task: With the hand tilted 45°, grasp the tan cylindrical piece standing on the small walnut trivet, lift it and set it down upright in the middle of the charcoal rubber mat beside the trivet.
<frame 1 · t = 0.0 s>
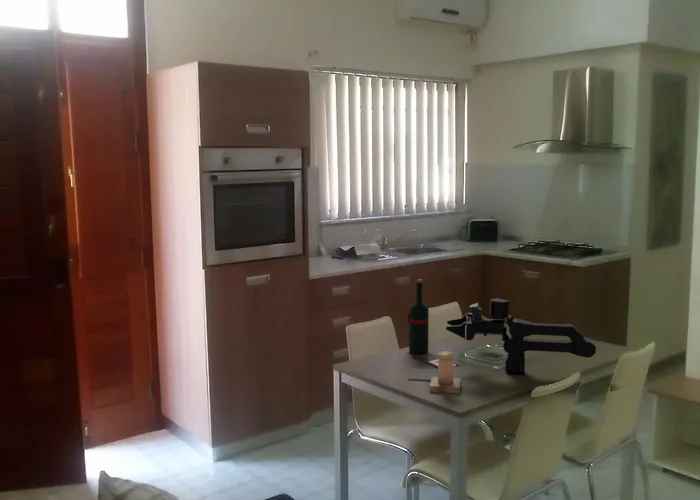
hand: (446, 325, 250), 17 cm above the table, tool horizontal, fingers open, 9 cm apart
trivet: (445, 387, 230), on the table
chocolate bar: (434, 363, 260), on the table
wine bottle: (416, 352, 274), on the table
tan cylindrical piece: (445, 382, 230), point 2 cm above the table, touching trivet
mat: (428, 375, 243), on the table
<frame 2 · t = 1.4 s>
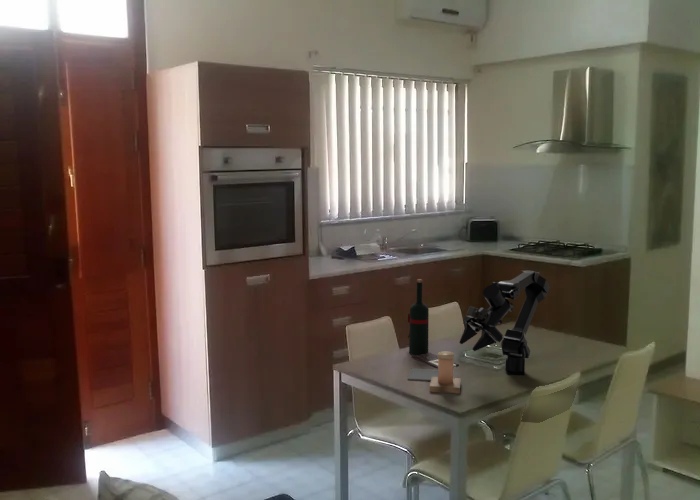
hand: (466, 346, 231), 14 cm above the table, tool tilted 45°, fingers open, 9 cm apart
nothing on the table moved.
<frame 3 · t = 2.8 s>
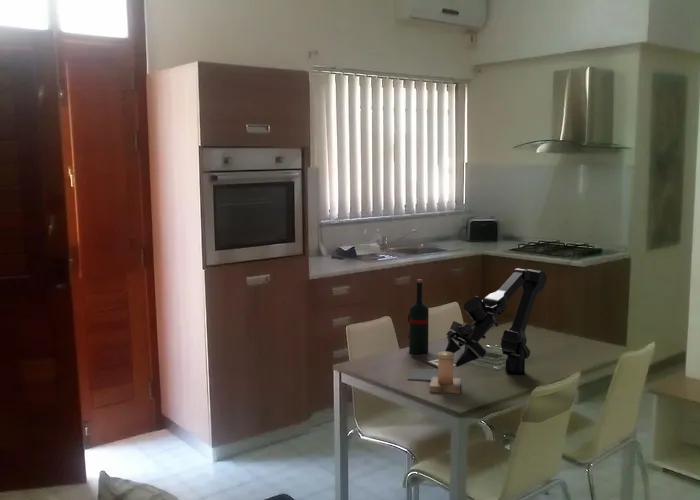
hand: (449, 362, 229), 9 cm above the table, tool tilted 45°, fingers open, 9 cm apart
nothing on the table moved.
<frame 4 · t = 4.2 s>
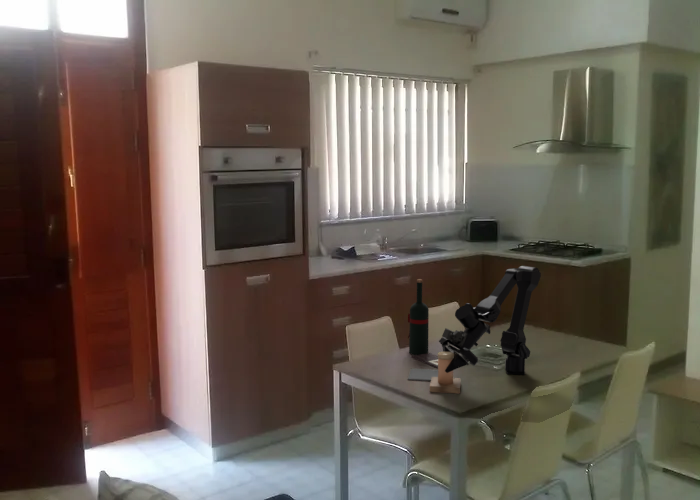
hand: (442, 369, 229), 7 cm above the table, tool tilted 45°, fingers closed on tan cylindrical piece, 5 cm apart
tan cylindrical piece: (445, 382, 230), point 2 cm above the table, touching gripper, trivet
everything else where it was.
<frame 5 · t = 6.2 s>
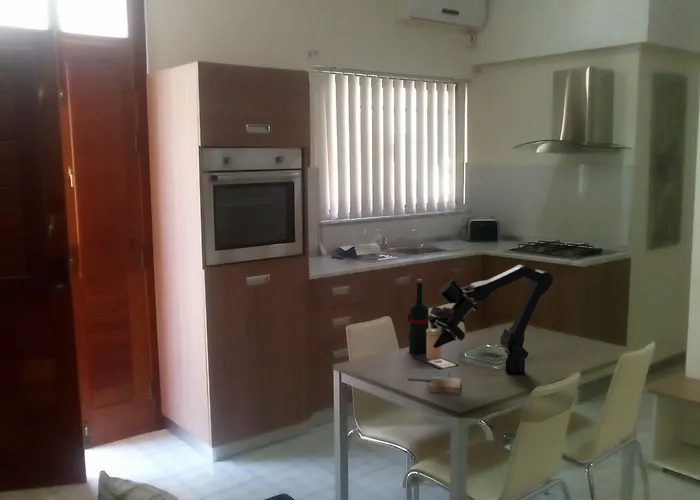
hand: (430, 345, 237), 13 cm above the table, tool tilted 45°, fingers closed on tan cylindrical piece, 5 cm apart
tan cylindrical piece: (433, 357, 238), point 8 cm above the table, touching gripper
everything else where it was.
when the fingers open (6 cm above the table, at t = 8.4 s): tan cylindrical piece drops 1 cm, resting on mat.
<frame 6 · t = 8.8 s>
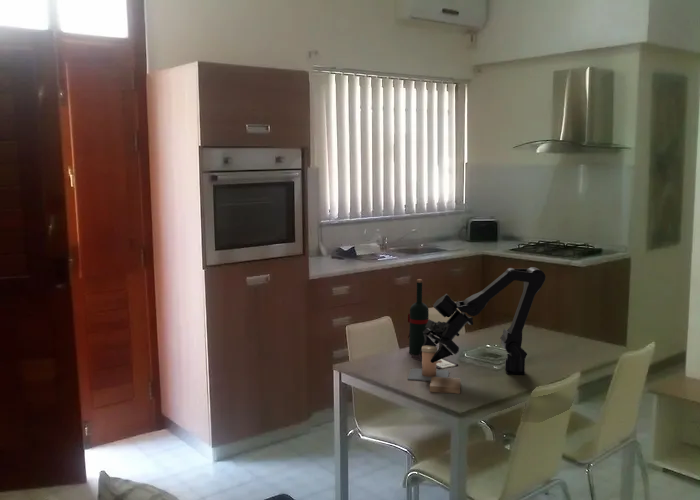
hand: (425, 358, 242), 7 cm above the table, tool tilted 45°, fingers open, 9 cm apart
tan cylindrical piece: (429, 374, 243), point 1 cm above the table, touching mat
everything else where it was.
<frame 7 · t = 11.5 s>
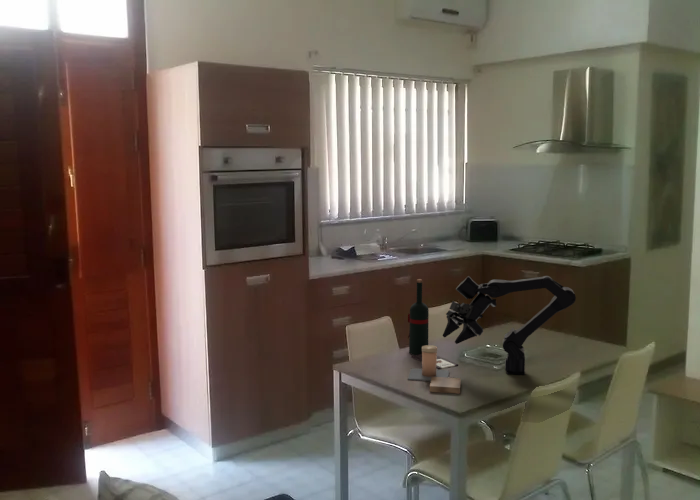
hand: (449, 339, 244), 13 cm above the table, tool tilted 45°, fingers open, 9 cm apart
nothing on the table moved.
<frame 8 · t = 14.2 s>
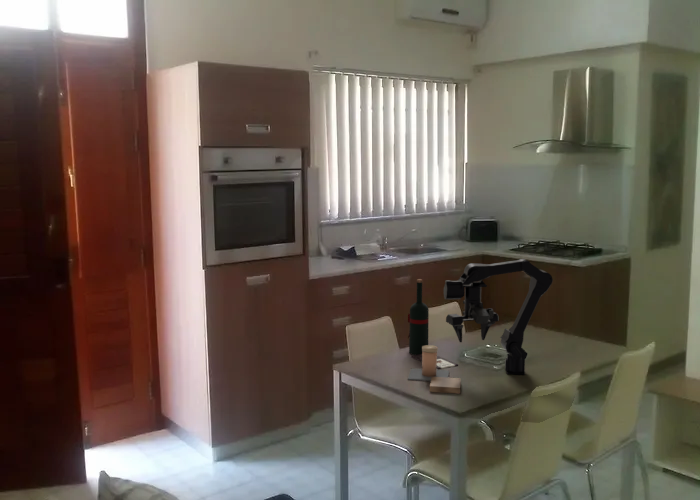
hand: (471, 341, 244), 12 cm above the table, tool pointing down, fingers open, 9 cm apart
nothing on the table moved.
at the end: tan cylindrical piece inside the target area on the mat (0.1 cm from its centre), point 0.5 cm above the mat's base; tan cylindrical piece tilted 1°; the gripper is holding nothing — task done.
